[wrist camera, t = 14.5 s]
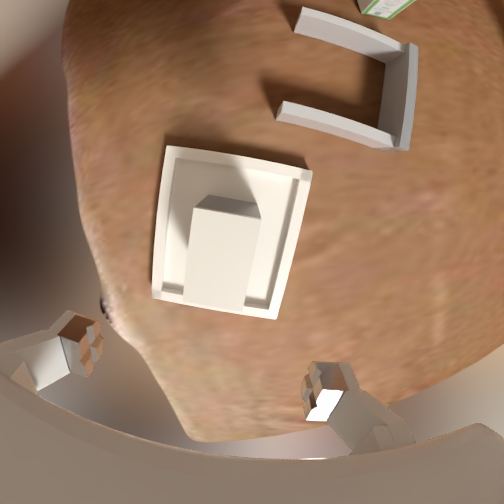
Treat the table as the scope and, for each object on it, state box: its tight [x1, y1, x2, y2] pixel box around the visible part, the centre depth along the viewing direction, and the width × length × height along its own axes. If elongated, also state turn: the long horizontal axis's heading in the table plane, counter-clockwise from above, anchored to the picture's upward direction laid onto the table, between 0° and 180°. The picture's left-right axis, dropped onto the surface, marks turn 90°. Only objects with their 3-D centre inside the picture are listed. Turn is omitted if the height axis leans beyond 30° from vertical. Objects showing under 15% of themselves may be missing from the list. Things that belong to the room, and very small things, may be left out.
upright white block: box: [183, 195, 262, 312], centre depth 22 cm, size 4×7×7 cm, turn 169°
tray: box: [152, 146, 313, 319], centre depth 25 cm, size 13×15×2 cm
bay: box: [276, 7, 418, 151], centre depth 19 cm, size 11×11×5 cm
